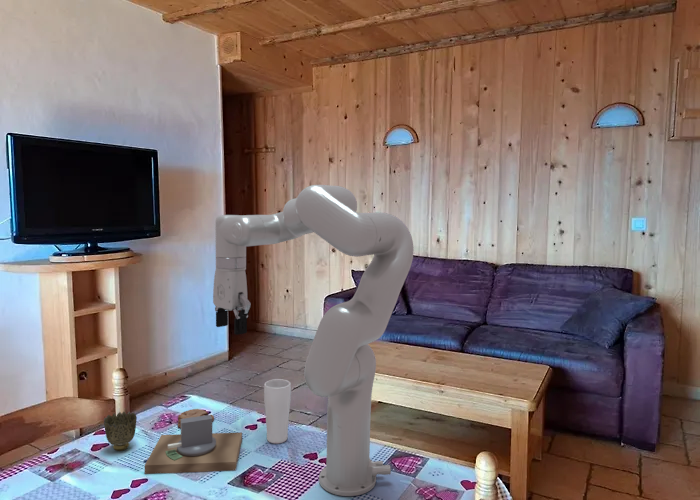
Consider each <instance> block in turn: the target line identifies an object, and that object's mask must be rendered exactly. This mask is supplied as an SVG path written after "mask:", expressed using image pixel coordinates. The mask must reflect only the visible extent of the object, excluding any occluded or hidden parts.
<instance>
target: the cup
mask: <svg viewBox="0 0 700 500" xmlns="http://www.w3.org/2000/svg"><path fill="white" fill-rule="evenodd" d="M137 419H138V417H137V414H136V413H135V412H130V411H128V412H127V413H126V412H125V411H122V412H121V411H118V412H117V414H116V413H115V412H114V413H113V414H112V415H110V414H107V416H106V417H104V418H103V424H104V433H105V436H106V437H105V438H106V440H107V442H108V443H109V444H111V445H112V448H113V450H114V451H116V452H122V451H126V450H127V449H128V448H129V446H130V442H131V441H132V440H133V439H134V437H135V434H136V428H137Z"/></svg>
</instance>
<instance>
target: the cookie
mask: <svg viewBox="0 0 700 500" xmlns="http://www.w3.org/2000/svg"><path fill="white" fill-rule="evenodd" d="M205 415H209V413H208V412H207V411H206V410H203V409H200V408H193V409H188V410H186V411H183V412H181V413H180V414H178V416H177V420H178V422H177V427H178V428H179V429H181V419H184V418H191V417H198V416H205ZM210 415H211V417H212V423H214V420H215V417H214V415H213V414H210Z"/></svg>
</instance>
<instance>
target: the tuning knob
mask: <svg viewBox="0 0 700 500" xmlns="http://www.w3.org/2000/svg"><path fill="white" fill-rule="evenodd" d="M211 415H212V414H208V415H205V416H198V417H191V418H184V419H181V428H180V434H181V440H180V441H179V442H178V443H174V444H168V448H174V447H177V452H178V453H179V454H181V455H184V456H200V455H204V454H207V453H209V452H211V451H212V450H214V449H215V447H216V439H215V438H214V437H212V433H213V422H212V417H211Z"/></svg>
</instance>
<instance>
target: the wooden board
mask: <svg viewBox="0 0 700 500" xmlns="http://www.w3.org/2000/svg"><path fill="white" fill-rule="evenodd" d="M212 437H214V438H215V439H216V447H215V449H214V450H212V451H211V452H209V453H207V454H204V455H200V456H184V455H181V454H179V453H178V452H177V447H174V448H168V444H174V443H178V442H179V441H180V440H181V433H179V434H161V435H160V437H159V439H158V441H156V444H155V446H154V447H153V449H152V452H151V453H150V454H149V457H148V458H147V460H146V462H145V464H144V475H149V474H150V475H151V474H154V475H155V474H175V473H176V474H178V473H179V474H180V473H200V472H201V473H202V472H203V473H204V472H225V471H226V472H228V471H236V470H237V465H238V460H239V456H240V451H241V447H242V441H243V432H217V433H216V432H212Z"/></svg>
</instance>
